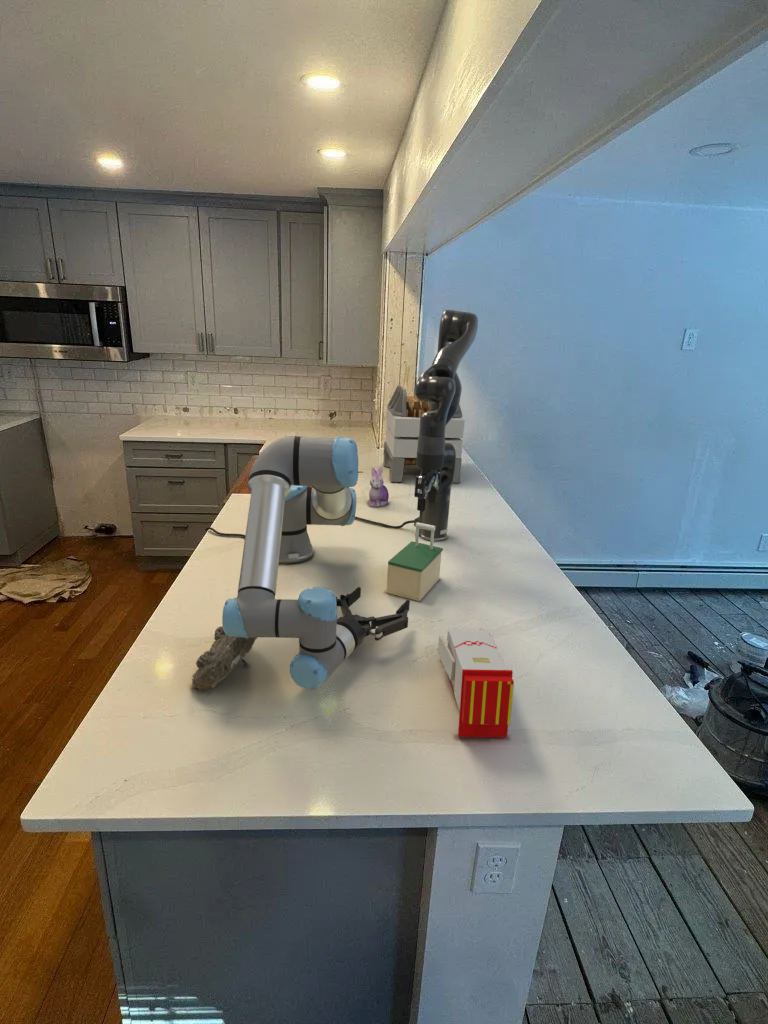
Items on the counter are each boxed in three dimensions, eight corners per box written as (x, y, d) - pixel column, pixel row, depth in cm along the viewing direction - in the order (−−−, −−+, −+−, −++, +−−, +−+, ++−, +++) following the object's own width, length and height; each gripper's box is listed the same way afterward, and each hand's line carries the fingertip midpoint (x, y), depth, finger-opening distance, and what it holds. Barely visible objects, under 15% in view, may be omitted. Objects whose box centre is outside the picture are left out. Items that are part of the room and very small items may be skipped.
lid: (411, 543, 170) (413, 518, 167) (442, 550, 166) (445, 524, 163) (387, 564, 155) (389, 536, 153) (421, 572, 151) (423, 544, 149)
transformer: (382, 463, 289) (386, 382, 275) (445, 464, 293) (451, 384, 279) (390, 482, 257) (394, 392, 243) (460, 483, 261) (468, 394, 247)
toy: (488, 613, 130) (523, 677, 101) (484, 667, 133) (517, 744, 104) (435, 612, 130) (455, 676, 101) (432, 666, 133) (451, 743, 103)
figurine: (373, 508, 223) (374, 472, 218) (362, 500, 232) (363, 465, 226) (394, 505, 227) (396, 469, 222) (382, 498, 236) (384, 463, 231)
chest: (408, 571, 172) (410, 545, 169) (439, 578, 168) (441, 552, 165) (386, 592, 158) (387, 564, 155) (419, 601, 154) (421, 572, 151)
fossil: (211, 617, 133) (257, 588, 128) (239, 645, 136) (285, 617, 131) (171, 683, 114) (223, 651, 109) (205, 714, 117) (257, 684, 112)
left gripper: (294, 638, 131) (340, 599, 149) (391, 669, 121) (428, 624, 139) (293, 609, 128) (340, 573, 146) (393, 639, 118) (430, 597, 137)
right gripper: (434, 458, 148) (430, 516, 153) (452, 447, 160) (447, 501, 165) (408, 453, 151) (404, 511, 156) (427, 443, 163) (423, 497, 168)
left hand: (383, 598), depth 143 cm, fingers open, 13 cm apart
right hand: (426, 506), depth 161 cm, fingers open, 8 cm apart
